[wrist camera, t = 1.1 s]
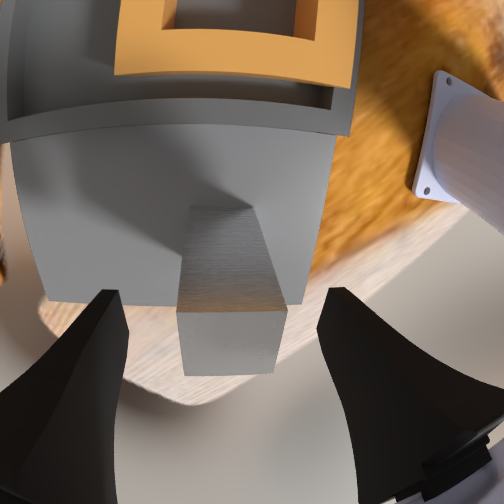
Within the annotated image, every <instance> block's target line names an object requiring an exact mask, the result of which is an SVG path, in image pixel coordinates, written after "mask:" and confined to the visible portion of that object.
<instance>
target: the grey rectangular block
mask: <svg viewBox="0 0 504 504" xmlns="http://www.w3.org/2000/svg"><path fill="white" fill-rule="evenodd" d="M287 312H288V310H287V307H286V304H285V300H284V297H283V294H282V291H281V288H280V285H279V282H278V279H277V276H276V273H275V270H274V267H273V264H272V261H271V258H270V254H269V251H268V248H267V245H266V242H265V239H264V236H263V233H262V230H261V227H260V224H259V221H258V218H257V215H256V212H255V209H254V207H238V206H189V211H188V218H187V225H186V232H185V239H184V247H183V255H182V263H181V271H180V280H179V289H178V299H177V310H176V315H177V323H178V332H179V340H180V347H181V355H182V362H183V369H184V375H185V376H228V375H251V374H267V373H273V371H274V367H275V363H276V359H277V355H278V351H279V346H280V342H281V338H282V334H283V329H284V325H285V321H286V316H287Z"/></svg>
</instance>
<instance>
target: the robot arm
mask: <svg viewBox="0 0 504 504" xmlns="http://www.w3.org/2000/svg"><path fill="white" fill-rule="evenodd" d="M446 80H448V84H447V83H446ZM425 188H426V191H425V192H424V190H425ZM412 193H413V194H414V195H415V196H416V197H419V198H425V199H432V200H438V201H444V202H450V203H456V204H462V205H464V206H466V207H467V208H469V209H470V210H471V211H473V212H474V213H476V214H477V215H478V216H480V217H481V218H482V219H484V220H485V221H486V222H488V223H489V224H490V225H491V226H493V227H494V228H495V229H497V230H498V231H499V232H500V233H502V234H503V235H504V102H503V101H500V100H496V99H492V98H491V97H489V96H488V95H486V94H484V93H483V92H481V91H479V90H478V89H476V88H474V87H473V86H471V85H469V84H467V83H466V82H464V81H462V80H460V79H458V78H456V77H455V76H453V75H451V74H449V73H447V72H445V71H441V70H437V71H436V72H435V73H434V78H433V86H432V93H431V100H430V107H429V113H428V118H427V124H426V129H425V134H424V139H423V144H422V149H421V153H420V158H419V162H418V166H417V170H416V174H415V178H414V182H413V186H412ZM316 329H317V333H318V338H319V342H320V346H321V350H322V353H323V356H324V358H325V361H326V364H327V366H328V369H329V372H330V374H331V377H332V379H333V382H334V384H335V387H336V389H337V392H338V395H339V397H340V400H341V403H342V406H343V409H344V412H345V416H346V420H347V424H348V428H349V433H350V438H351V443H352V448H353V454H354V460H355V468H356V475H357V487H358V502H359V504H382V503H385V502H387V501H389V500H392V499H394V498H395V499H396V502H397V503H395V504H504V438H503V439H502V440H500V441H499V442H498V443H497V444H496V445H494V446H493V447H491V448H490V449H487V447H486V444H488V443H489V442H490V439H489V437H488V435H487V434H489V433H490V432H491V431H492V430H493V429H495V428H496V427H497V426H498V425H499V424H501V423H502V422H503V421H504V389H502V388H499V387H496V386H493V385H489V384H486V383H484V382H481V381H479V380H476V379H474V378H472V377H469V376H467V375H465V374H463V373H461V372H459V371H457V370H455V369H453V368H451V367H449V366H447V365H446V364H444V363H442V362H440V361H438V360H437V359H435V358H434V357H432V356H431V355H429V354H428V353H426V352H424V351H423V350H422V349H420V348H419V347H417V346H416V345H414V344H413V343H412V342H410V341H409V340H408V339H406V338H405V337H404V336H402V335H401V334H400V333H398V332H397V331H396V330H395V329H394V328H392V327H391V326H390V325H389V324H387V323H386V322H385V321H384V320H383V319H382V318H380V317H379V316H378V315H377V314H376V313H375V312H373V311H372V310H371V309H370V308H369V307H368V306H366V305H365V304H364V303H363V302H362V301H361V300H360V299H358V298H357V297H356V296H355V295H354V294H352V293H351V292H350V291H349V290H347V289H346V288H345V287H335V288H329V290H328V293H327V296H326V299H325V303H324V306H323V309H322V312H321V315H320V319H319V322H318V325H317V328H316ZM128 340H129V329H128V326H127V322H126V318H125V314H124V310H123V306H122V302H121V298H120V294H119V290H114V289H102V290H101V291H100V292H99V293H98V294H97V295H96V296H95V298H94V299H93V300H92V301H91V302H90V303H89V304H88V306H87V307H86V308H85V309H84V310H83V311H82V313H81V314H80V315H79V316H78V317H77V318H76V320H75V321H74V322H73V323H72V324H71V325H70V326H69V328H68V329H67V330H66V331H65V332H64V333H63V334H62V335H61V337H60V338H59V339H58V340H57V341H56V342H55V343H54V344H53V345H52V346H51V347H50V349H49V350H48V351H47V352H46V353H45V354H44V355H43V356H42V357H41V358H40V359H39V360H38V361H37V362H36V363H34V364H33V365H32V366H31V367H30V368H29V369H28V370H27V371H26V372H25V373H24V374H22V375H21V376H20V377H19V378H18V379H16V380H15V381H14V382H13V383H11V384H10V385H9V386H8V387H7V388H5V389H4V390H3V391H1V392H0V504H118V503H117V496H116V486H115V473H114V424H115V414H116V408H117V403H118V397H119V392H120V387H121V382H122V378H123V373H124V368H125V363H126V358H127V349H128Z"/></svg>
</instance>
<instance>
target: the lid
mask: <svg viewBox="0 0 504 504" xmlns="http://www.w3.org/2000/svg"><path fill="white" fill-rule="evenodd" d="M335 142H336V135H334V134H328V133H321V132H313V131H305V130H297V129H288V128H278V127H266V126H253V125H235V124H205V123H172V124H143V125H126V126H113V127H102V128H92V129H84V130H76V131H68V132H61V133H55V134H49V135H43V136H37V137H32V138H27V139H22V140H17V141H13V142H11V143H10V146H11V156H12V164H13V170H14V177H15V183H16V188H17V194H18V199H19V203H20V208H21V212H22V217H23V221H24V225H25V229H26V233H27V237H28V240H29V244H30V247H31V251H32V254H33V257H34V260H35V263H36V266H37V269H38V272H39V275H40V278H41V281H42V284H43V287H44V289H45V292H46V295H47V297H48V300H49V301H57V302H71V303H88V304H89V303H90V302H91V301H92V300H93V299H94V298H95V296H96V295H97V294H98V293H99V292H100V291H101V290H102V289H114V290H119V294H120V298H121V302H122V305H133V306H177V299H178V289H179V280H180V271H181V263H182V255H183V247H184V239H185V232H186V225H187V218H188V211H189V206H238V207H254V209H255V212H256V215H257V218H258V221H259V224H260V227H261V230H262V233H263V236H264V239H265V242H266V245H267V248H268V251H269V254H270V258H271V261H272V264H273V267H274V270H275V273H276V276H277V279H278V282H279V285H280V288H281V291H282V294H283V297H284V300H285V304H286V305H297V304H302V301H303V297H304V293H305V289H306V285H307V281H308V276H309V272H310V268H311V264H312V259H313V255H314V250H315V246H316V241H317V237H318V232H319V227H320V223H321V218H322V213H323V208H324V203H325V198H326V193H327V188H328V182H329V177H330V171H331V166H332V160H333V154H334V148H335Z"/></svg>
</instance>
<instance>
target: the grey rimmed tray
mask: <svg viewBox="0 0 504 504" xmlns="http://www.w3.org/2000/svg"><path fill="white" fill-rule="evenodd" d="M364 8H365V0H2V3H1V8H0V144H4V143H8V142H12V141H17V140H22V139H27V138H32V137H37V136H43V135H49V134H55V133H61V132H68V131H76V130H84V129H92V128H102V127H113V126H126V125H143V124H172V123H205V124H235V125H253V126H266V127H278V128H288V129H297V130H305V131H313V132H321V133H328V134H334V135H341V136H347V137H349V135H350V129H351V122H352V116H353V109H354V102H355V95H356V88H357V80H358V72H359V64H360V55H361V45H362V34H363V22H364Z"/></svg>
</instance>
